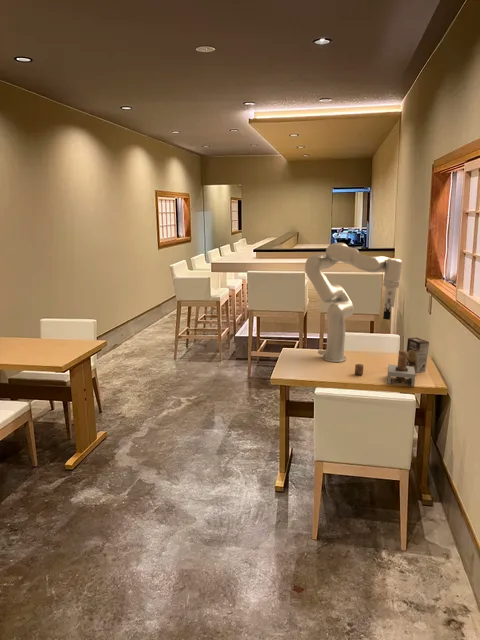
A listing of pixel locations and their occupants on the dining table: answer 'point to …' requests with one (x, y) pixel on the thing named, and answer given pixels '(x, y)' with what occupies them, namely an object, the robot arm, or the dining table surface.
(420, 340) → the coffee box
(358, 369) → the short pin
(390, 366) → the bridge
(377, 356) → the dining table surface
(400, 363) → the long pin
